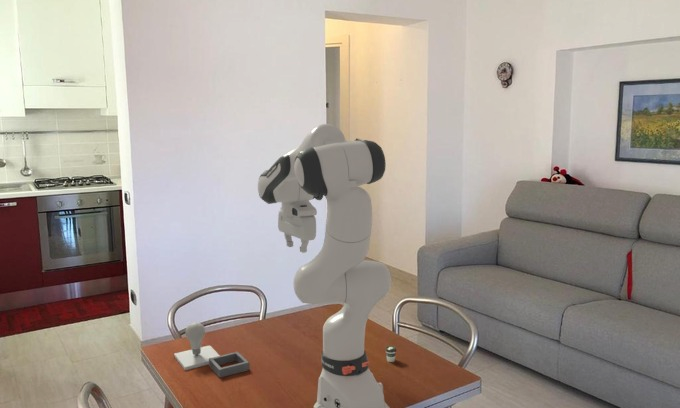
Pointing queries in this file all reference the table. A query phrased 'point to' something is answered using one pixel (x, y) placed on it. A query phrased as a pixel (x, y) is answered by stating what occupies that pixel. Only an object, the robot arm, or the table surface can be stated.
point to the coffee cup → (390, 353)
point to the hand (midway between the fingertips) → (296, 249)
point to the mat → (195, 357)
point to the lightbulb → (195, 336)
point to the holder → (229, 370)
